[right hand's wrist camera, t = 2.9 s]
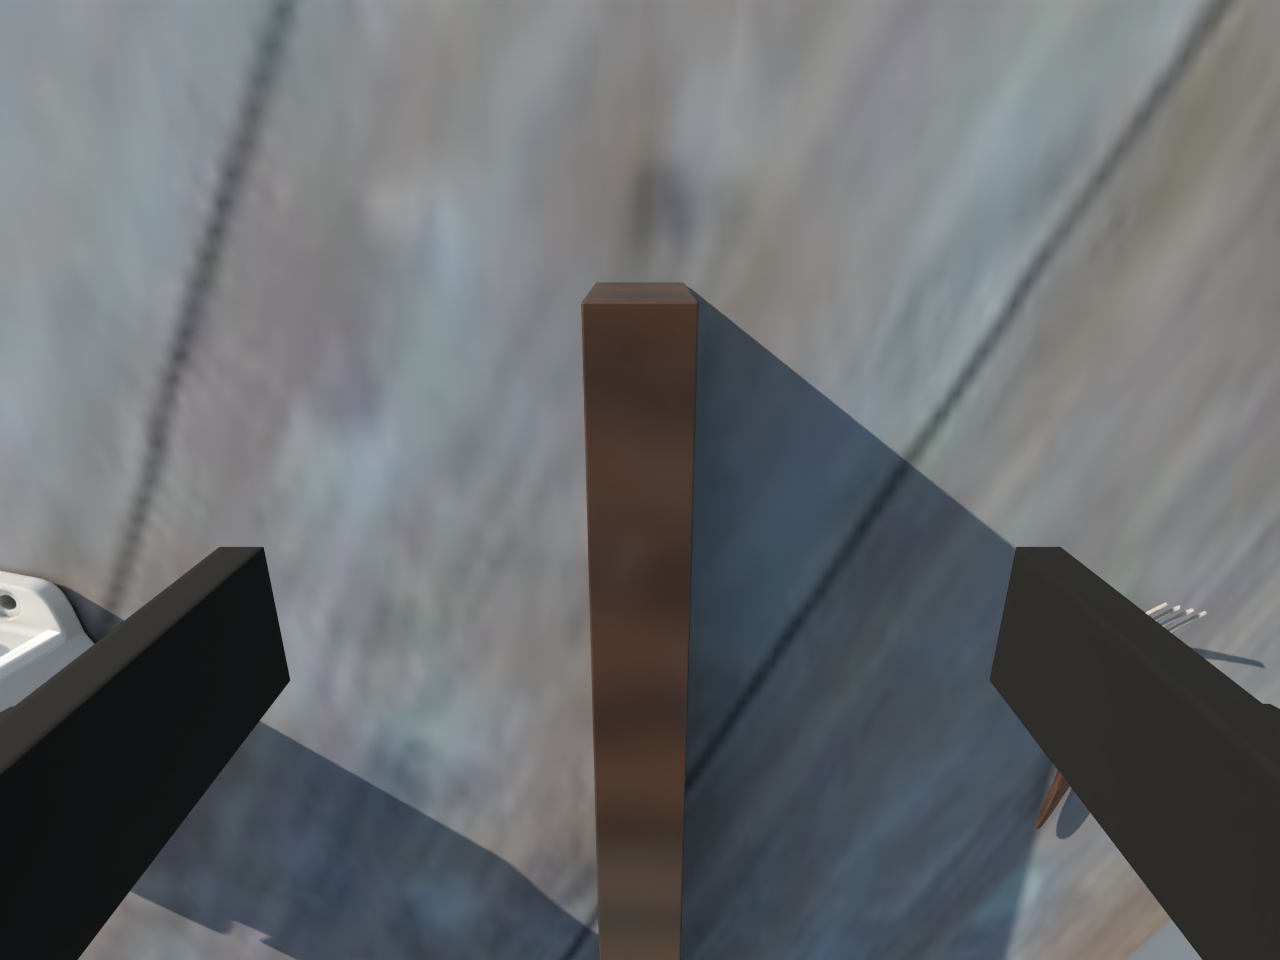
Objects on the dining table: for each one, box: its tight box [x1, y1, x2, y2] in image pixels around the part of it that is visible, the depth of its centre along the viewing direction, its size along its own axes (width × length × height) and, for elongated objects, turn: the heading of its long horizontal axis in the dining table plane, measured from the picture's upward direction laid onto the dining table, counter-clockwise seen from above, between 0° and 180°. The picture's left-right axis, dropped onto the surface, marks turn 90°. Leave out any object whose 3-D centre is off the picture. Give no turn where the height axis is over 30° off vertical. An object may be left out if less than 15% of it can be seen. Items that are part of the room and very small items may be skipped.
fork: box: [1035, 603, 1207, 829], centre depth 38 cm, size 3×16×2 cm, turn 167°
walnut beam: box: [581, 283, 699, 960], centre depth 36 cm, size 46×4×8 cm, turn 0°
